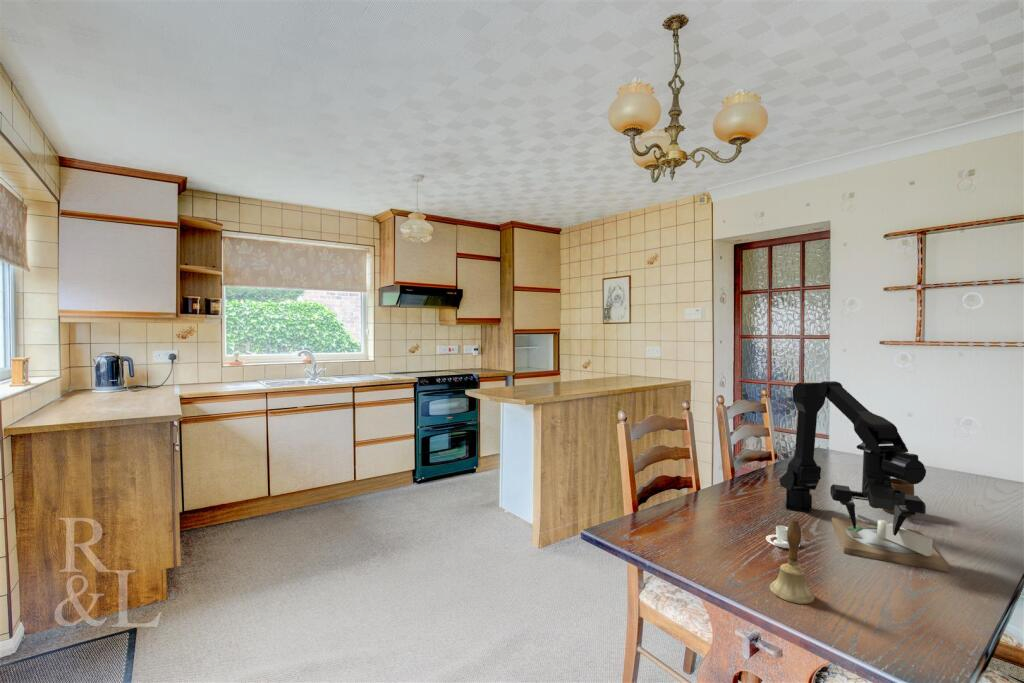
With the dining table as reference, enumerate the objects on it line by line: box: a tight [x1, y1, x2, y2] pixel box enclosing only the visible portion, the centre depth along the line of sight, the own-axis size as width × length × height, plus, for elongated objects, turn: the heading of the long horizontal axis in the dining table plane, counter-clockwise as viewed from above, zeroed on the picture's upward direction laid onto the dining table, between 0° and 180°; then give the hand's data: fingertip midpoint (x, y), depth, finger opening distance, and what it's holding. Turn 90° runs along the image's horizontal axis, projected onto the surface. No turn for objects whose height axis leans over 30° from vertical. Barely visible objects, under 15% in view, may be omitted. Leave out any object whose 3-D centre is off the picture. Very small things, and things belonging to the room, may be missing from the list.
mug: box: [882, 477, 915, 517], centre depth 146 cm, size 12×8×9 cm, turn 123°
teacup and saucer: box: [765, 524, 801, 549], centre depth 126 cm, size 9×8×4 cm
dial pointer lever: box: [856, 514, 934, 556], centre depth 123 cm, size 18×3×4 cm, turn 15°
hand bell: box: [769, 518, 815, 605], centre depth 102 cm, size 8×8×16 cm
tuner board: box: [831, 516, 949, 573], centre depth 125 cm, size 20×21×2 cm
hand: (874, 531), depth 122 cm, fingers open, 8 cm apart
